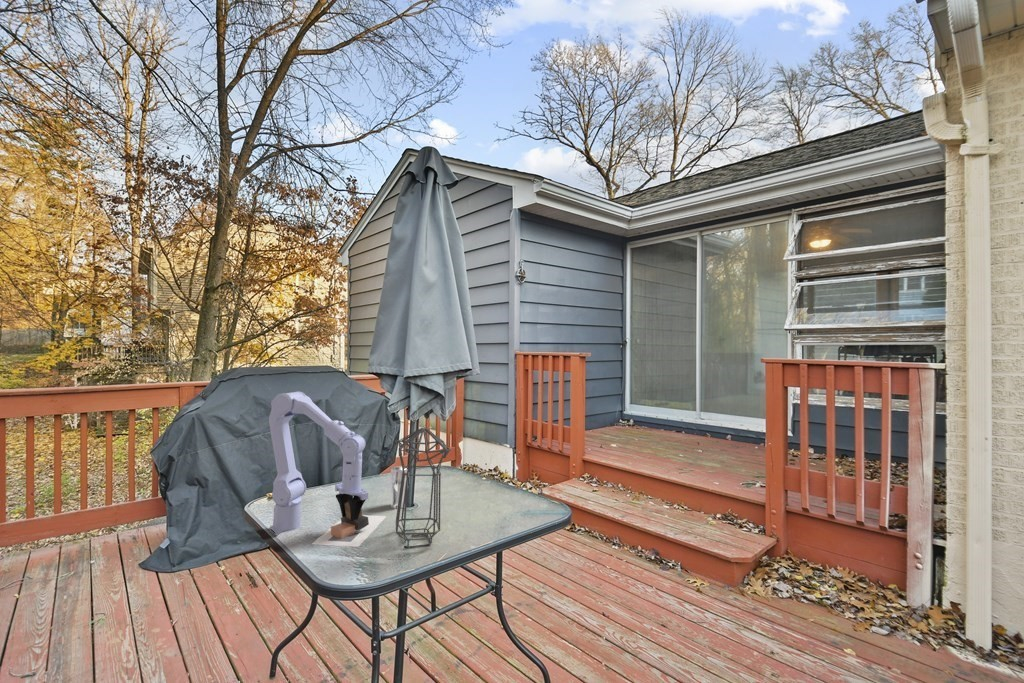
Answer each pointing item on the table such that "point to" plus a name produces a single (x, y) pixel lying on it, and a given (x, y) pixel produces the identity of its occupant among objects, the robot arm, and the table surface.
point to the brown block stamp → (358, 523)
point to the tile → (342, 530)
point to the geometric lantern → (444, 453)
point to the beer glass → (396, 485)
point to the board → (353, 539)
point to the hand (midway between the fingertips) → (350, 518)
